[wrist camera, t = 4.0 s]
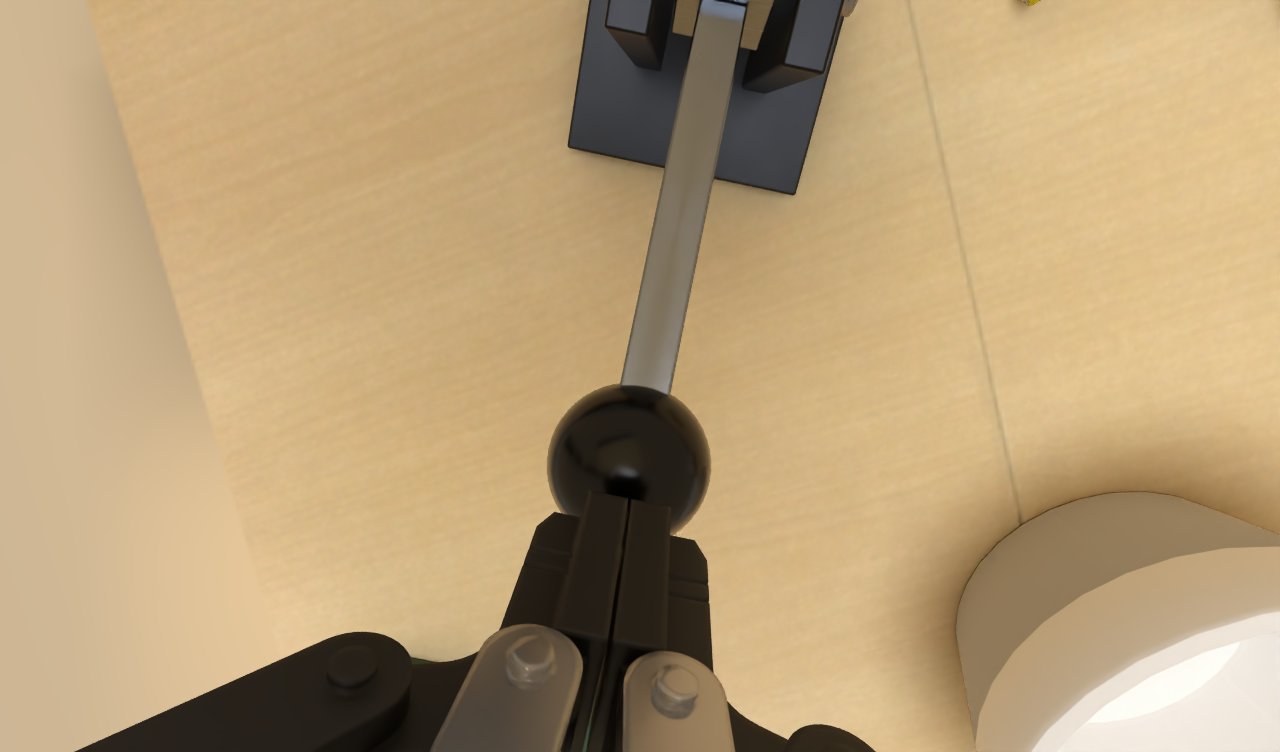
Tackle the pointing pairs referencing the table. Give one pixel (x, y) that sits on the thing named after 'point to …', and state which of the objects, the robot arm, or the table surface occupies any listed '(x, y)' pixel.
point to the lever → (662, 300)
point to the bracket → (653, 75)
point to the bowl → (1125, 631)
